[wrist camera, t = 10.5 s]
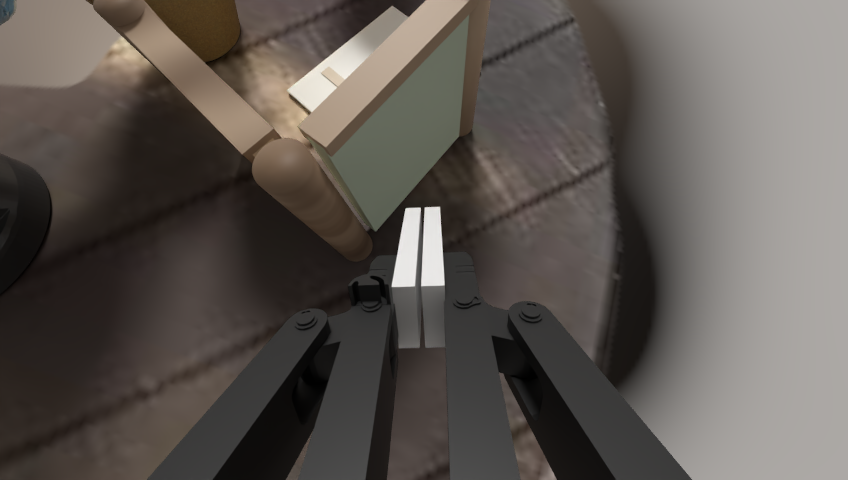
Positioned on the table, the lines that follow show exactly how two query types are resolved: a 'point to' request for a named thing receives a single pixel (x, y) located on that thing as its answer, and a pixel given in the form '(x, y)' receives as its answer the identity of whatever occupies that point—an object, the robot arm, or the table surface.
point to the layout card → (345, 60)
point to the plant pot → (200, 24)
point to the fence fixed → (244, 129)
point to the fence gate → (402, 106)
